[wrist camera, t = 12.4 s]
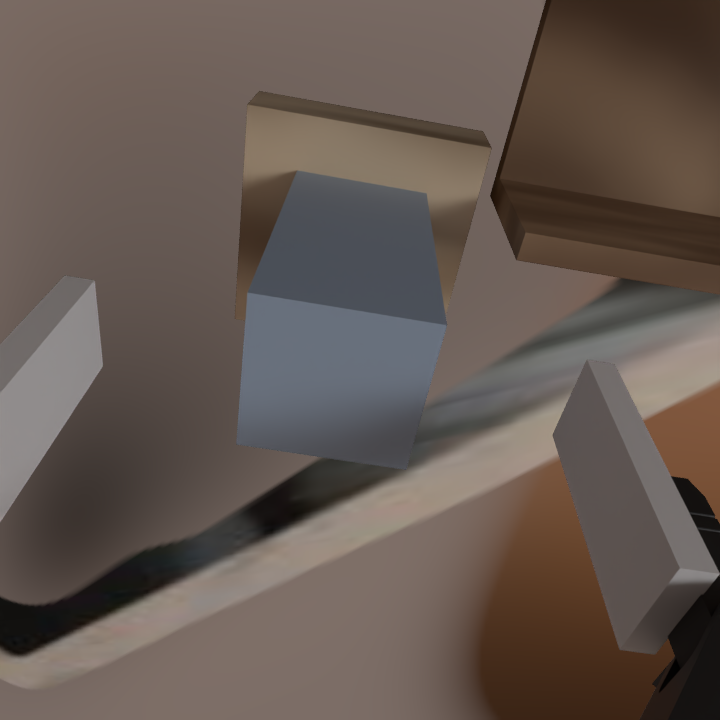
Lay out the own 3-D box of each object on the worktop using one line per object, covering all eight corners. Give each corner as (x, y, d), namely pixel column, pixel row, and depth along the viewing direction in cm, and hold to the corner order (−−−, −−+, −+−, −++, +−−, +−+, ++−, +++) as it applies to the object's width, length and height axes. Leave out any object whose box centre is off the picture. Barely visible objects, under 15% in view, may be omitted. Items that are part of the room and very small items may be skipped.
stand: (259, 90, 24) (247, 104, 22) (483, 131, 25) (491, 148, 23) (245, 292, 29) (234, 318, 27) (432, 322, 30) (435, 351, 28)
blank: (297, 170, 24) (247, 292, 15) (426, 193, 24) (447, 325, 16) (284, 286, 26) (236, 444, 18) (400, 306, 27) (405, 469, 18)
